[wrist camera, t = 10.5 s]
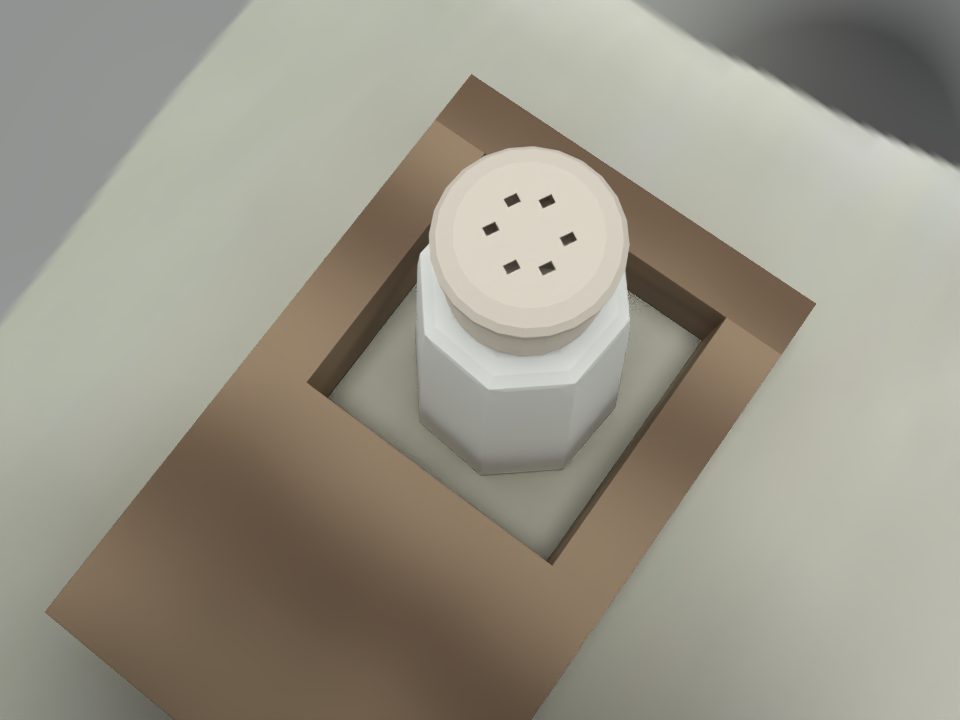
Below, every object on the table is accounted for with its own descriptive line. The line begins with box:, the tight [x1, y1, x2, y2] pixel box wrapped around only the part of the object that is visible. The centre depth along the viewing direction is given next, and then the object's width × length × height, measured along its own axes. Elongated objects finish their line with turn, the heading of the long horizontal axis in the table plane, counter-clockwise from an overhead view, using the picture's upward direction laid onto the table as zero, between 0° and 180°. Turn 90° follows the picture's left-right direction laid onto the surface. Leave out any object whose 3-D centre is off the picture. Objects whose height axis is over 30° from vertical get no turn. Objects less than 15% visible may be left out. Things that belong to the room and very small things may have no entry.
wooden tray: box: [45, 74, 816, 720], centre depth 21 cm, size 16×10×2 cm, turn 144°
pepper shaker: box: [415, 146, 630, 475], centre depth 17 cm, size 5×5×11 cm
